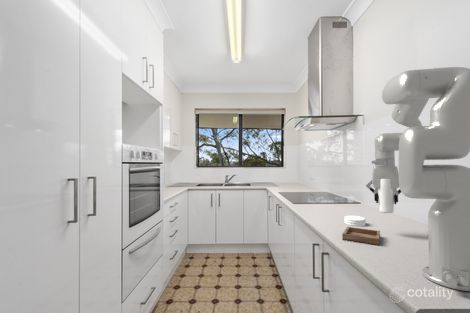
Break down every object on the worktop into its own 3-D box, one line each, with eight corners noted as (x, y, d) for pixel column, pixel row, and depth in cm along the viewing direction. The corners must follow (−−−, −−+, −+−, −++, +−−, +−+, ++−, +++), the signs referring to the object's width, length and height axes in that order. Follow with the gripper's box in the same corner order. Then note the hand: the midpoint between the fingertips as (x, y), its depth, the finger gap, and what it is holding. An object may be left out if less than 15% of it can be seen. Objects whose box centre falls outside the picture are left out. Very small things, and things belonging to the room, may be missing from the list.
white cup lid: (360, 221, 131) (360, 215, 131) (369, 226, 121) (369, 219, 121) (341, 221, 132) (341, 215, 132) (348, 226, 122) (348, 219, 122)
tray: (378, 245, 93) (378, 239, 93) (342, 239, 100) (342, 233, 100) (380, 236, 104) (380, 231, 104) (347, 232, 111) (347, 226, 111)
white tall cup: (398, 214, 104) (397, 179, 105) (381, 213, 105) (380, 179, 106) (391, 211, 110) (390, 178, 111) (375, 210, 112) (374, 178, 113)
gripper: (362, 163, 111) (363, 202, 110) (408, 162, 101) (410, 206, 100) (364, 163, 117) (365, 201, 116) (408, 163, 107) (409, 203, 106)
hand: (386, 203), depth 108 cm, fingers closed on white tall cup, 6 cm apart
